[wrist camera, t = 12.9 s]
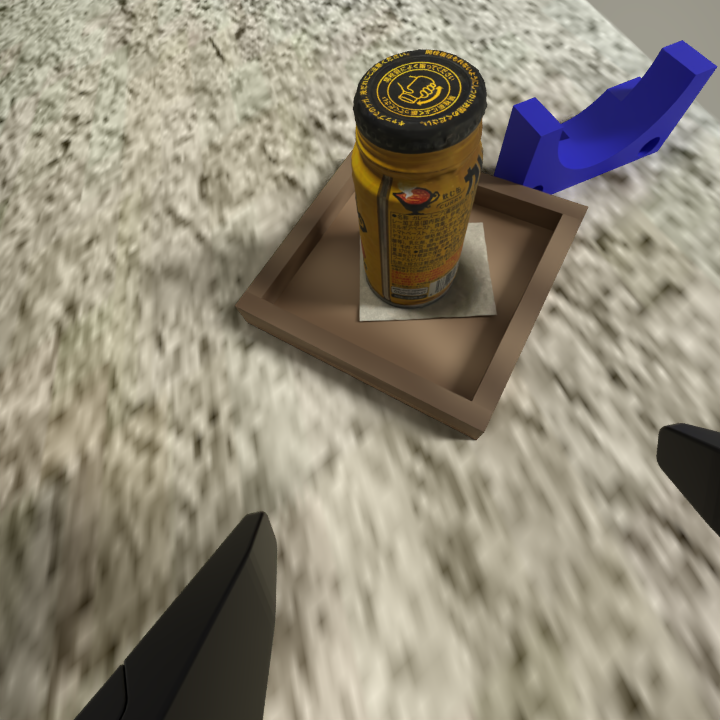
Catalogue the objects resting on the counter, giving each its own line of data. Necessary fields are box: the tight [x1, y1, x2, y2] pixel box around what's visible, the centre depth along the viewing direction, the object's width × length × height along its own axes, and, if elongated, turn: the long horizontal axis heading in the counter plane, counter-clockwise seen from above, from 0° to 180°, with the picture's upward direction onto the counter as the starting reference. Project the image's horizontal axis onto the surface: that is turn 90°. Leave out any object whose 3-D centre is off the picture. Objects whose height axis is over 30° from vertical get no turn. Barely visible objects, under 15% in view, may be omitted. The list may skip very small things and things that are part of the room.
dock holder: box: [235, 150, 588, 440], centre depth 26 cm, size 16×16×2 cm
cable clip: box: [494, 40, 717, 195], centre depth 27 cm, size 12×4×6 cm, turn 113°
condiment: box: [351, 49, 497, 321], centre depth 20 cm, size 7×8×12 cm
